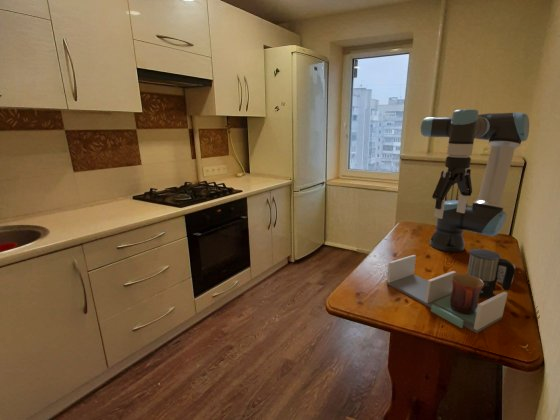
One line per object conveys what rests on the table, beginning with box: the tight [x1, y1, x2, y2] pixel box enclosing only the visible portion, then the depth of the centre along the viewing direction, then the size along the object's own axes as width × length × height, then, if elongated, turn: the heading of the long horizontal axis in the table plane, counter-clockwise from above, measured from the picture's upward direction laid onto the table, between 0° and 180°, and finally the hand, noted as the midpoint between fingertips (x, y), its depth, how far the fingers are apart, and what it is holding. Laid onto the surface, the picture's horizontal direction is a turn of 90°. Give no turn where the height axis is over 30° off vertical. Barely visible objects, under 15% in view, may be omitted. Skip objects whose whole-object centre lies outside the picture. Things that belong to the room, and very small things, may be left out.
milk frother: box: [466, 248, 516, 298], centre depth 112 cm, size 14×16×15 cm
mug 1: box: [450, 273, 484, 314], centre depth 95 cm, size 12×9×10 cm
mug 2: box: [496, 263, 517, 285], centre depth 120 cm, size 10×7×7 cm
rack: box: [386, 254, 508, 334], centre depth 104 cm, size 16×33×9 cm, turn 30°
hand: (449, 215), depth 112 cm, fingers open, 13 cm apart
